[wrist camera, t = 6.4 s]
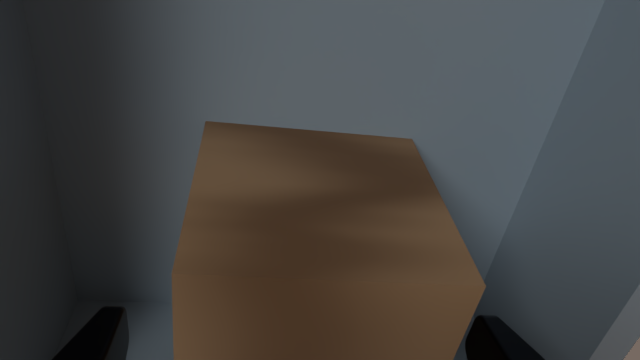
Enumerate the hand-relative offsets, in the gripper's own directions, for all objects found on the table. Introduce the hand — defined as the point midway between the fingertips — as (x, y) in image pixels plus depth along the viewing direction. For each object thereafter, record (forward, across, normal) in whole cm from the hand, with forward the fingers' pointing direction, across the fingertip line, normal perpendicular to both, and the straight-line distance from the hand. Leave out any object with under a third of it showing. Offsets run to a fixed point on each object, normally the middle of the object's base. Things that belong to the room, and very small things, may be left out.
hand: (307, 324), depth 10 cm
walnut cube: (+4, 0, 0) cm, 4 cm away
